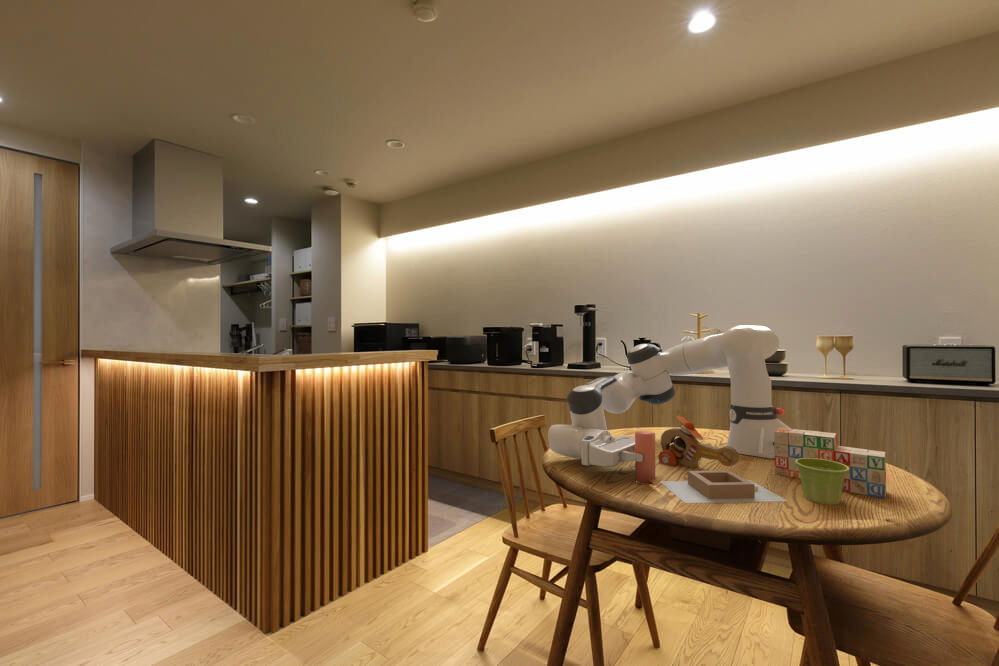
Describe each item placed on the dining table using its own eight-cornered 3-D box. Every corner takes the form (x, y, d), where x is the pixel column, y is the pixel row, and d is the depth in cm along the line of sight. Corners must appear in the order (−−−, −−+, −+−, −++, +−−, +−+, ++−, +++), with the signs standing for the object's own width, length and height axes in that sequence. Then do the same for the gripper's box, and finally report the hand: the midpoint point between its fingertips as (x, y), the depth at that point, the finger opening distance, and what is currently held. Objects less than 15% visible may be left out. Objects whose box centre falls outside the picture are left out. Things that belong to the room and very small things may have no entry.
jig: (749, 484, 109) (749, 467, 109) (788, 506, 95) (788, 486, 95) (659, 486, 109) (659, 468, 109) (685, 508, 95) (685, 488, 95)
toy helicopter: (670, 460, 131) (670, 412, 131) (745, 478, 115) (745, 423, 115) (654, 465, 126) (653, 416, 126) (730, 485, 110) (729, 428, 110)
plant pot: (853, 504, 97) (852, 463, 97) (845, 517, 90) (844, 473, 90) (801, 493, 103) (801, 455, 103) (790, 504, 97) (790, 464, 97)
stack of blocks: (886, 492, 104) (886, 438, 104) (885, 499, 100) (885, 443, 100) (779, 473, 119) (779, 426, 119) (774, 479, 114) (773, 430, 114)
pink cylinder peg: (651, 477, 115) (651, 430, 115) (658, 484, 110) (658, 434, 110) (632, 478, 115) (632, 430, 115) (639, 484, 110) (638, 435, 110)
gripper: (618, 450, 129) (666, 459, 120) (578, 466, 114) (629, 477, 105) (618, 428, 129) (665, 435, 120) (578, 441, 114) (629, 450, 105)
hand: (648, 455), depth 112 cm, fingers closed on pink cylinder peg, 5 cm apart
